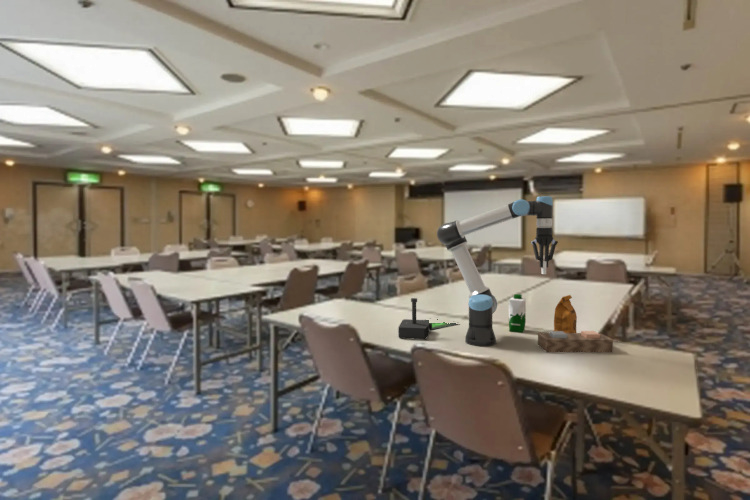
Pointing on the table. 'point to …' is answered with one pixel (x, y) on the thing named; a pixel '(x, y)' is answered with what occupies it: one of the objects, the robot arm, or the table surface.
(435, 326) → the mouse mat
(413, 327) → the black joystick
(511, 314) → the milk carton
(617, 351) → the table surface
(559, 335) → the slate key
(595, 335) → the terracotta key
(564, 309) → the coffee package
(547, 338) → the brown woven basket
